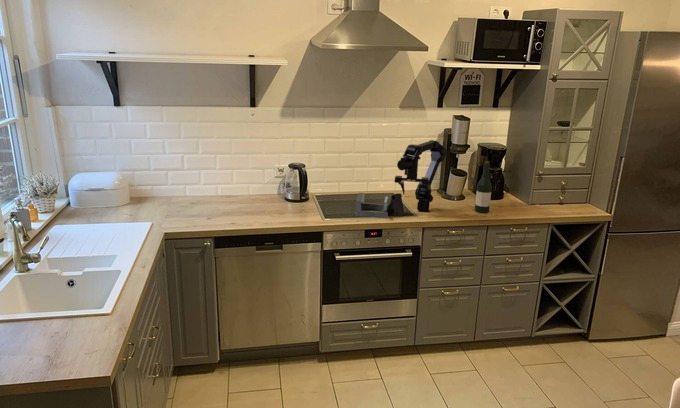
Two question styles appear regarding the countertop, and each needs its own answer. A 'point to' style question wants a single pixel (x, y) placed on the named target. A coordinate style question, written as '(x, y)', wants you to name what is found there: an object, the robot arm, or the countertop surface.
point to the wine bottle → (483, 191)
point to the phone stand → (396, 206)
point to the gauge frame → (361, 205)
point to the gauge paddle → (385, 204)
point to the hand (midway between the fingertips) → (410, 194)
